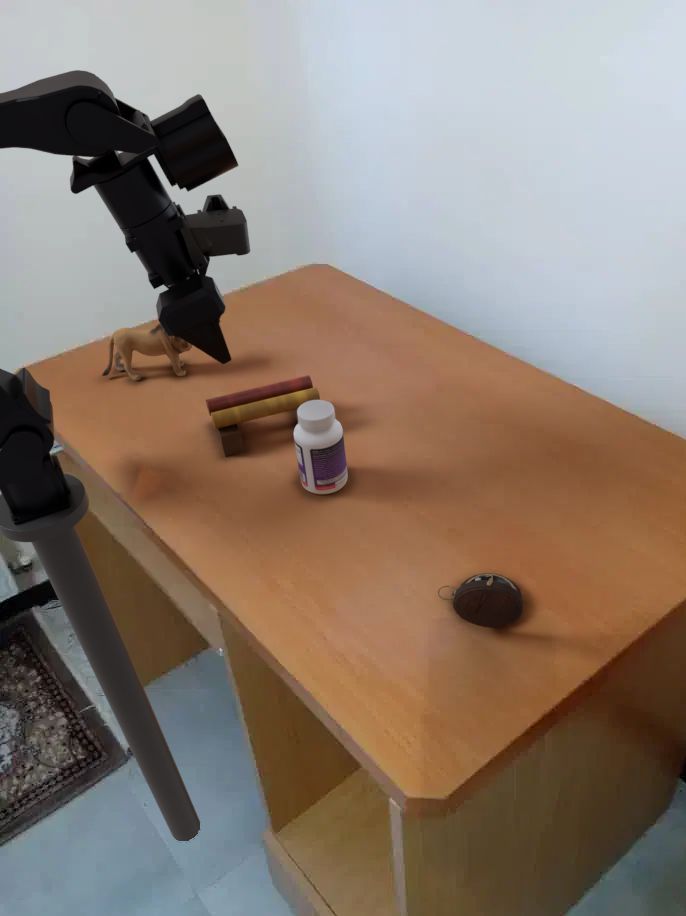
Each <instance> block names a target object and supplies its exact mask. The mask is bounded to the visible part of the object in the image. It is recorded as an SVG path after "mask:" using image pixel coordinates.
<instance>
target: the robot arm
mask: <svg viewBox="0 0 686 916" xmlns="http://www.w3.org/2000/svg"><path fill="white" fill-rule="evenodd" d="M10 148H16V149H17V148H18V149H29V150H35V151H37V152H38V151H39V152H42V153H47V154H51V155H56V156H57V155H58V156H70V157H72V158H71V161H72V171H71V175H70V177H69V186H70V191H71V193H72V194H74V195H78V194H80V193H82V192H84V191H86V190H87V189H90V188H91V187H94V189H95V191H96V192H97V194H98V195H99V197H100V199H101V200H102V202H103V203H104V205H105V207H106V208H107V210H108V211H109V213H110V214H111V216H112V218H113V220H114V221H115V223H116V224H117V226H118V227H119V229H120V231H121V232H122V234H123V235H124V241H125V246H126V247H127V249H128V250H129V252H130V253H131V254H133V253H135V254H136V256H137V258H138V260H139V261H140V263H141V264H142V266H143V268H144V269H145V271H146V273H147V278H148V282H149V283H150V285H151V287H152V288H153V290H155V289H158V288H159V287H161V286H164V287H166V290H164V291H162V292H160V293H159V294H158V298H157V300H156V304H155V307H156V314H157V319H158V322H159V323H161V325H162V327H163V328H164V330H165V331H166V333H167V334H168V336H174V337H179V338H181V339H183V340H184V341H186V342H188V343H190V344H191V345H192V347H195V348H197V349H198V350H200V351H201V352H202V353H205V354H206V355H207V356H209V357H210V358H212V359H214V360H215V361H217V362H218V363H220V364H222V365H226V364H228V363H230V362H231V361H232V356H231V352H230V349H229V347H228V345H227V341H226V338H225V336H224V333H223V330H222V327H221V324H220V323H221V317H222V316H223V315H224V313H225V312H226V304H225V301H224V297H223V295H222V293H221V291H220V288H219V286H218V285H217V283H216V282H215V279H214V277H212V276H208V275H207V271H208V268H209V265H210V262H211V258H213V257H221V256H222V257H223V256H231V255H236V256H239V257H240V256H245V255H248V254H249V253H251V244H250V237H249V229H248V220H247V217H246V215H245V213H244V211H243V210H242V209H240V208H238V207H237V205H232V206H231V207H232V208H231V207H230V206H229V204H228V203H227V202H226V200H225V198H224V197H223V195H222V194H220V193H219V194H209V195H207V196H206V198H205V201H204V204H203V206H202V209H197V210H196V213H190V214H186V213H185V212H184V210H183V208H182V207H181V204H180V203H178V204H176V201H173V200H172V199H171V197H170V194H169V193H168V191H167V189H166V188H165V186H164V184H163V182H162V180H161V179H160V177H159V175H158V173H157V172H156V170H155V168H154V166H153V165H152V162H151V161H150V159H149V158H150V157H152V156H154V158H155V160H156V161H157V163H158V165H159V167H160V169H161V171H162V172H163V174H164V176H165V178H166V179H167V182H168V183H169V184H170V186H171V187H175V186H177V187H178V188H179V190H180V191H181V190H183V189H185V190H186V192H188V193H189V192H191V191H193V190H195V189H196V188H198V187H200V186H202V185H204V184H206V183H208V182H210V181H212V180H214V179H216V178H217V177H218V178H219V176H221V175H223V174H225V173H228V172H229V171H231V170H234V169H235V168H238V167H239V166H240V165H239V162H238V159H237V158H236V156H235V153H234V151H233V148H232V147H231V145H230V142H229V141H228V139H227V137H226V135H225V133H224V132H223V131H222V129H221V127H220V126H219V124H218V123H217V121H216V120H215V117H214V116H213V114H212V112H211V110H210V109H209V106H208V104H207V102H206V100H205V99H204V97H203V96H202V94H200V93H198V94H196V95H194V96H191V97H190V98H188V99H186V100H185V101H184V102H183V103H182V104H181V105H179V106H178V107H176V108H173V109H171V110H170V111H168V112H166V113H164V114H162V115H160V116H157V117H156V118H154V119H152V120H151V119H150V117H149V115H148V114H147V113H144V112H142V111H141V110H140V109H137V108H135V107H134V106H131V105H130V104H128V103H126V102H124V101H122V100H120V99H118V98H116V96H115V95H114V92H113V91H112V90H111V88H110V87H109V85H108V83H106V82H105V81H103V79H101V78H100V77H99V76H98V75H96V74H95V73H93V72H90V71H87V70H80V69H75V70H70V71H66V72H62V73H59V74H55V75H52V76H48V77H44V78H41V79H38V80H35V81H33V82H30V83H27V84H25V85H23V86H20V87H18V88H15V89H12V90H7V91H4V92H0V150H2V149H10ZM83 157H84V158H83ZM88 158H90V159H88ZM54 445H55V423H54V407H53V404H52V401H51V392H50V390H49V389H48V388H46V387H44V386H42V385H41V384H40V383H39V382H37V380H35V378H34V377H33V375H32V374H31V372H30V370H28V369H27V368H26V367H22V368H21V369H20V370H18V372H16V373H12V372H10V371H7V370H4V369H2V368H0V494H2V495H3V497H4V499H5V501H6V504H7V506H8V508H9V511H10V515H11V519H12V522H13V524H14V525H19V524H22V523H25V522H28V521H31V520H34V519H37V518H40V517H43V516H47V515H50V514H53V513H56V512H59V511H62V510H65V509H68V508H70V507H71V503H70V500H69V497H68V494H70V493H71V491H70V488H69V485H68V482H67V479H66V477H65V474H66V473H65V472H64V470H63V467H62V465H61V462H60V459H59V457H58V455H56V454H53V455H52V454H51V451H52V449H53V448H54Z"/></svg>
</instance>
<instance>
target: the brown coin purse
mask: <svg viewBox="0 0 686 916" xmlns="http://www.w3.org/2000/svg"><path fill="white" fill-rule="evenodd" d="M443 588H451V589H452V590H450V596H452V597H448V598H447V597H443V596H441V594H440V591H441V590H442V589H443ZM437 596H438V597H439V598H440V599H442V600H444V601H450V600H452V601H453V603H452V604H453V606H452V607H453V609H454V611H455V613H456V614H457V615H458V616H459V617H460V618H461V619H462V620H464V621H466V622H467V623H470V624H472V625H475V626H478V627H484V628H498V627H505V626H508V625H511V624H513V623H515V622H516V621H518V620H519V619H520V618H521V617H522V615H523V611H524V610H523V609H524V600H523V594H522V592H521V589H520V588H519V586H518V585H517V584H516V583H515V582H514V581H513V580H511V579H510V578H508V577H506V576H503V575H501V574H497V573H492V572H491V573H489V572H488V573H479V574H474V575H472V576H470V577H469V578H466V579H465V580H464V581H463V582H462V583H461V584H460V586H459V587H458V588H457V589H456V587H454V586H453V585H448V584H446V585H445V584H444V585H442V586H440V587H439V588H438V590H437Z"/></svg>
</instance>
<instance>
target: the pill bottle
mask: <svg viewBox="0 0 686 916" xmlns="http://www.w3.org/2000/svg"><path fill="white" fill-rule="evenodd" d="M297 417H298V421H297V424H296V425H295V427H294V429H293V441H294V447H295V453H296V454H295V455H296V460H297V465H298V471H299V472H298V473H299V478H300V483H301V485H302V487H303V489H305V490H306V491H308V492H309V493H312V494H315V495H329V494H333V493H336V492H338V491H340V490H341V489H343V487H344V486H345V485H346V483H348V482H347V481H348V478H349V475H348V465H347V456H346V447H345V438H344V430H343V426H342V424H341V422H340V421H339V420H338V419H336V412H335V406H334V405H333V404H332V403H331V401H328V400H324V399H320V400H311V401H307V402H305V403H303V404H302V405H300V406H299V408H298V409H297Z"/></svg>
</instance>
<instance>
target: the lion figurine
mask: <svg viewBox="0 0 686 916" xmlns="http://www.w3.org/2000/svg"><path fill="white" fill-rule="evenodd" d="M114 347H115V348H116V352H115V353H114ZM192 348H193V345H191V344H190V343H188V342H186V341H184V340H183V339H181V338H179V337H174V336H168V334H167V333H166V331H165V330H164V328H163V327H162V325H161V323H160V322H159V323H157V324H156V325H155V326H154V328H152V329H136V328H131V327H122V328H119V329H116V330H114V332H112V334H111V335H110V337H109V340H108V364H107V367H106V368H105V369H104V371H103V372H102V373H101V376H102V377H106V376H109V374H110V373H111V371H112V367H113V362H114V368H115V369H116V370H117V371H125V372H126V373H127V374H128V375H129V377H130V379H131V380H133V381H135V382H138V381H140V380H141V379H142V374H140V373H136V372H135V371H134V370H133V368H132V362H133V352H137V353H139V354H142V355H143V356H147V357H159V356H164V355H166V356H167V358H168V359H169V361H170V363H171V366H172V368H173V371H174V373H175V374H176V375H177V376H178V377H180V378H181V377H185V376H186V375H187V371H186V370H185V369H182V367H183V366H184V364H185V363H184V361H183V360H181V357H180V355H182V354H183V353H185V352H190V351H191V349H192ZM121 361H123V363H121Z"/></svg>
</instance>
